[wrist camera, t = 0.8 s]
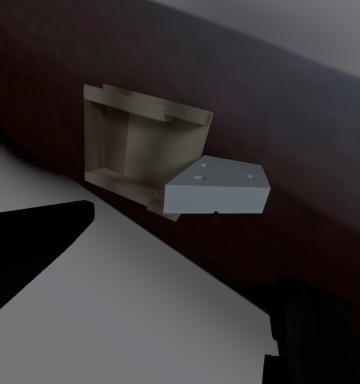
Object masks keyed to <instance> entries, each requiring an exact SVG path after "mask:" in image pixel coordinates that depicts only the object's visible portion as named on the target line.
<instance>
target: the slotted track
mask: <svg viewBox="0 0 360 384" xmlns="http://www.w3.org/2000/svg"><path fill="white" fill-rule="evenodd" d="M212 117H213V112H210V111H206V110H202V109H198V108H194V107H190V106H187V105H183V104H179V103H175V102H171V101H167V100H164V99H160V98H156V97H152V96H148V95H144V94H141V93H137V92H133V91H129V90H125V89H121V88H118V87H114V86H110V85H106V84H103V89H101V88H96V87H92V86H88V85H84V138H85V181H88V182H90V183H93V184H95V185H97V186H100V187H102V188H105V189H107V190H109V191H112V192H114V193H117V194H119V195H121V196H124V197H126V198H129V199H131V200H133V201H136V202H138V203H141V204H143V205H145V206H147V210H149V211H152V212H154V213H157V214H159V215H161V216H164V217H166V218H168V219H171V220H173V221H176V220H177V219H178V218H179V216H180V215H181V213H163V211H164V198H165V185H166V184H167V183H169V182H170V181H171V180H172V179H174V178H175V177H176V176H178V175H179V174H180V173H182V172H183V171H184V170H186V169H187V168H188V167H190V166H191V165H192V164H193V163H195V162H196V161H197V160H199V159H200V157H201V154H202V151H203V147H204V144H205V141H206V137H207V134H208V130H209V127H210V124H211V120H212Z"/></svg>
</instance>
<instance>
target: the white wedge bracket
mask: <svg viewBox="0 0 360 384" xmlns="http://www.w3.org/2000/svg"><path fill="white" fill-rule="evenodd" d="M269 191H270V185H269V183H268V180H267V178H266V175H265V173H264V170H263V168H262V165H256V164H250V163H244V162H239V161H233V160H227V159H221V158H216V157H210V156H203V157H201V158H200V159H199V160H197V161H196V162H195V163H193V164H192V165H191V166H190V167H188V168H187V169H186V170H184V171H183V172H182V173H180V174H179V175H178V176H176V177H175V178H174V179H172V180H171V181H170V182H169V183H167V184H166V185H165V198H164V211H163V213H214V211H219V212H218V213H262V211H263V208H264V206H265V203H266V200H267V197H268V194H269Z"/></svg>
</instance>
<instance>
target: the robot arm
mask: <svg viewBox="0 0 360 384" xmlns="http://www.w3.org/2000/svg"><path fill="white" fill-rule="evenodd" d="M94 218H95V213H94V204H93V203H92V202H90V201H87V200H81V201H74V202H68V203H61V204H54V205H47V206H41V207H34V208H27V209H20V210H14V211H7V212H0V309H1V308H2V307H3V306H4V305H5V304H7V303H8V302H9V301H10V300H11V299H12V298H13V297H14V296H15V295H16V294H18V293H19V292H20V291H21V290H22V289H23V288H24V287H25V286H27V284H28V283H30V282H31V281H32V280H33V279H34V278H35V277H36V276H38V275H39V274H40V273H41V272H42V271H43V270H44V269H45V268H46V267H48V266H49V265H50V264H51V263H52V262H53V261H54V260H55V259H56V258H58V257H59V256H60V255H61V254H62V253H63V252H64V251H65V250H66V249H67V248H68V247H69V246H70V245H71V244H72V243H73V242H74V241H75V240H76V239H77V238H78V237H79V236H80V235H81V234H82V233H83V232H84V231H85V229H86V228H87V227H88V226H89V225H90V224H91V223H92V222H93V220H94ZM265 311H266V313H267V314H268V315H269V316H270V323H271V331H272V337H273V339H274V340H276V341H277V345H278V352H279V356H271V355H265V358H264V367H263V379H262V384H360V341H359V340H358V338H357V337H356V336H355V335H354V334H353V333H352V332H351V330H350V328H349V326H348V324H347V322H346V320H345V319H344V318H345V317H346V316H347V315H348V314H349V313H351V312H352V311H353V307H352V305H351V304H350V303H349V302H347V301H344V300H342V299H340V298H337V297H335V296H333V295H330V294H328V293H326V292H323V291H321V290H319V289H316V288H314V287H312V286H309V285H307V284H305V283H302V282H300V281H298V280H295V279H293V278H289V279H287V280H286V282H285V283H284V284H283V285H282V287H281V288H280V289H279V290H278V291H276V293H275V294H274V295H273V297H272V298H271V299H270V301H269V302H268V305H267V306H266V308H265Z"/></svg>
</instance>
